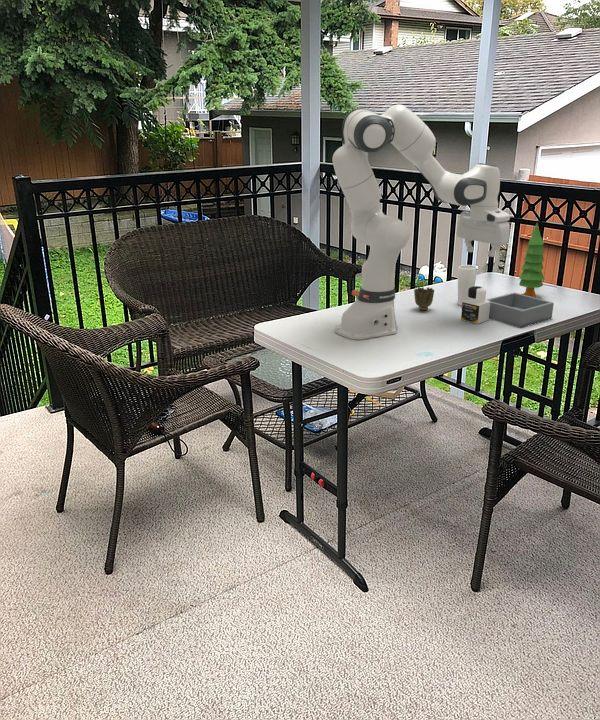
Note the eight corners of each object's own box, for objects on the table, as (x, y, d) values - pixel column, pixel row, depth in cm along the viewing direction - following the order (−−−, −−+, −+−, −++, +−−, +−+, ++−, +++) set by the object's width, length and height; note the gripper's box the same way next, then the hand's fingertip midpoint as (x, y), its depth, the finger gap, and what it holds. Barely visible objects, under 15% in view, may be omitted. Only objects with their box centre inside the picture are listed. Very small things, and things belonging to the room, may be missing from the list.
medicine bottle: (460, 320, 227) (462, 287, 223) (472, 315, 232) (474, 283, 227) (477, 324, 222) (480, 291, 218) (489, 320, 227) (492, 287, 222)
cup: (411, 312, 237) (412, 291, 235) (414, 306, 244) (415, 286, 241) (431, 313, 235) (433, 292, 232) (434, 307, 242) (435, 287, 239)
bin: (520, 328, 218) (522, 311, 216) (482, 316, 231) (483, 300, 229) (551, 318, 226) (553, 302, 224) (512, 307, 240) (514, 292, 237)
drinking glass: (475, 307, 241) (478, 268, 236) (457, 307, 241) (460, 269, 236) (471, 302, 247) (474, 264, 242) (454, 302, 248) (456, 264, 242)
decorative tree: (518, 300, 249) (527, 223, 238) (514, 293, 257) (522, 219, 246) (544, 300, 247) (554, 223, 236) (538, 294, 256) (548, 219, 245)
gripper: (454, 211, 220) (451, 250, 225) (501, 218, 204) (497, 260, 209) (466, 209, 223) (464, 248, 228) (514, 216, 207) (510, 257, 212)
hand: (480, 254), depth 218 cm, fingers open, 8 cm apart
